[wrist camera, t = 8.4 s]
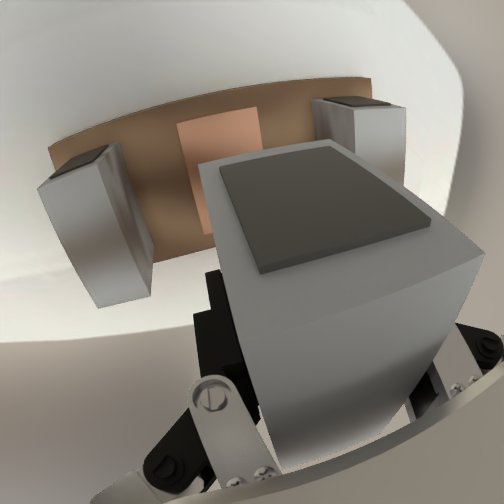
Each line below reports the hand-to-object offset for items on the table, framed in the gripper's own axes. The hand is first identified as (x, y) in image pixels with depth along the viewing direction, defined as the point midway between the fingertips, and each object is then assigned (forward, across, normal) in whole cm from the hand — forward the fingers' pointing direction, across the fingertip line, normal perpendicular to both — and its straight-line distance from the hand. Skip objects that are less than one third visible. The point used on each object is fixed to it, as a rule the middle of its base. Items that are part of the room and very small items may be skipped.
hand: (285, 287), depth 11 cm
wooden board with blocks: (+14, 0, 0) cm, 14 cm away
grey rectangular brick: (0, 0, -1) cm, 1 cm away
